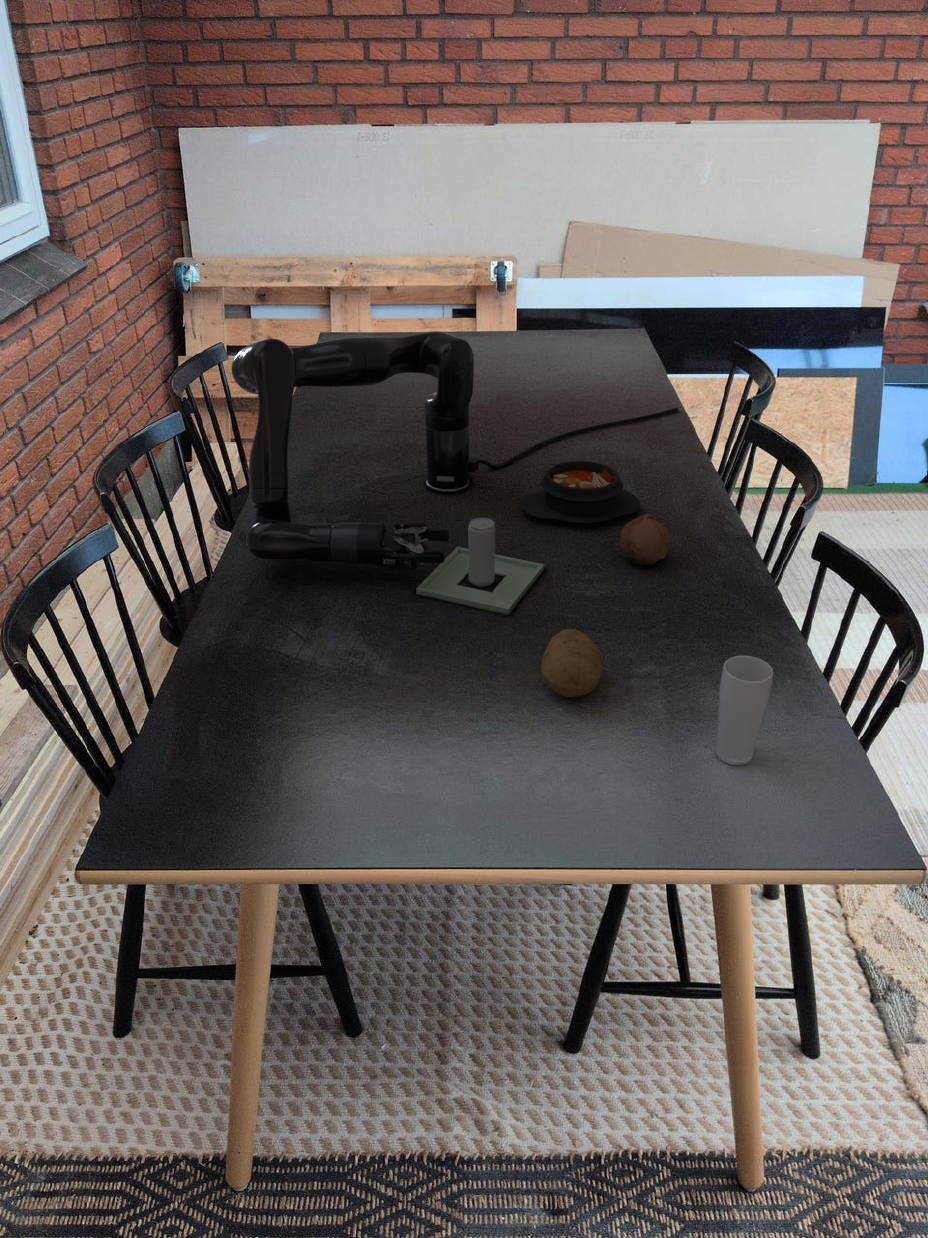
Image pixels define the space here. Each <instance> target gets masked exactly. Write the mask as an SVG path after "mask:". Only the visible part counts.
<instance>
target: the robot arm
mask: <svg viewBox="0 0 928 1238" xmlns="http://www.w3.org/2000/svg"><path fill="white" fill-rule="evenodd" d="M398 374H425V375H428V376H431V377H433V378H436V379H437V386H436V387H437V388H436V391H435V392H433V393H430V394H428V395H427V396H426V398H425V402H424V403H425V404H424V405H425V406H424V407H425V444H426V445H425V446H426V447H425V448H426V487H427V488H428V489H429V490H431V491H433V492H436V493H441V494H454V493H459V492H462V491H465V490H467V489H468V488H469V486H470V473H472V474H475V473H476V472H477V471H478V470H480V464H482V465H485V466H487V467H488V468H490V469H494V470H496V469H502V468H504V467H505V468H506V467H507V466H508V465H510V464H511V463H513V462H515V461H517V460H518V459H521V458H522V457H524V456H526V455H528V454H529V453H531V452H532V451H535V450H536V449H539V448H541V447H543V446H545V445H547V444H550V443H552V442H553V443H554V442H555V441H558V440H560V439H564V438H567V437H570V436H574V435H578V434H581V433H585V432H589V431H594V430H598V429H604V428H608V427H613V426H618V425H619V426H620V425H623V424H629V423H634V422H640V421H645V420H649V419H654V418H657V417H662V416H666V415H669V414H672V413H677V412H679V408H678V407H675V408H671V409H667V410H664V411H660V412H656V413H652V414H647V415H642V416H637V417H632V418H627V419H622V420H615V421H611V422H606V423H601V424H596V425H591V426H587V427H583V428H579V429H578V428H577V429H573V430H571V431H568V432H564V433H561V434H557V435H556V436H552V437H550V438H547V439H545V440H542V441H540V442H538V443H535V444H534V445H532V446H530V447H528V448H527V449H525V450H523V451H521V452H520V453H517V454H516V455H514V456H512V457H511V458H509V459H507V460H506V461H504V462H502V463H500V464H499V463H498V464H493V463H491V462H489V461H488V460H486V459H480V458H477V457H470V403H471V400H472V398H473V393H474V376H475V355H474V350H473V348H472V345H471V344H470V342H469V341H467V340H466V339H464V338H461V337H459V336H457V335H453V334H451V333H447V332H444V331H427V332H424V333H417V334H413V335H407V336H398V337H396V336H395V337H394V336H357V337H356V336H355V337H344V338H343V337H342V338H336V339H331V340H330V339H329V340H326V341H322V342H316V343H313V344H309V345H305V346H299V347H297V346H296V347H290V346H289V345H288V344H287V343H286V342H284V341H282V340H281V339H278V338H266V339H262V340H259V341H256V342H255V343H250V344H249V345H246V346H244V347H243V348H241V349H240V350H239V351H238V352H237V353H236V355H235V356H234V357H233V360H232V363H231V375H232V377H233V380H234V382H235V383H236V384H237V386H239V388H241V389H243V390H244V391H246V392H247V393H249V394H252V395H257V397H258V416H257V422H256V423H257V424H256V428H255V432H254V437H253V441H252V444H251V448H250V452H249V460H248V489H249V490H248V491H249V492H248V493H249V500H250V504H251V505H252V506H253V509H254V517H255V518H254V519H255V524H253V525H252V526H251V527H250V528H249V530H248V531H247V533H246V537H245V543H246V547H247V549H248V551H249V552H250V553H251V554H252V555H253V556H254V557H256V558H258V559H261V560H268V561H269V560H270V561H271V560H272V561H273V560H274V561H275V560H305V561H306V560H307V561H314V562H334V563H340V564H341V563H342V564H352V565H353V564H355V565H360V564H361V565H383V564H382V563H383V562H384V560H385V565H384V567H385V568H386V569H399V570H401V569H403V570H413V571H414V570H415V571H416V570H418V569H419V566H421V565H422V566H423V564H424V563H426V564H441V563H443V562H444V560H445V559H446V557H445V551H444V550H441V549H436V550H435V549H424V551H422V550H420V549H418V548H415V546H418V544H419V543H420V544H421V543H423V542H427V541H428V542H448V541H450V530H449V529H447V528H429V526H427V523H426V522H425V521H395V522H393V529H391V530H387V529H386V525H385V524H384V523H381V522H352V521H346V522H308V523H298V522H292V518H291V512H290V507H289V474H288V471H289V469H288V451H289V433H290V424H291V415H292V405H293V398H294V391H295V388H303V387H318V388H342V387H345V388H346V387H349V388H350V387H362V386H364V387H365V386H372V385H373V386H374V385H378V384H380V383H383V382H384V381H387V380H389V379H390V378H392V377H393V376H395V375H398ZM405 562H407V563H409V564H406V563H405Z"/></svg>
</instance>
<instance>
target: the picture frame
mask: <svg viewBox="0 0 928 1238" xmlns="http://www.w3.org/2000/svg"><path fill="white" fill-rule="evenodd" d="M544 571H545V564H544V563H540V562H534V561H529V560H524V559H520V558H514V557H510V556H505V555H500V554H496V553H495V576H500V577H503V578H502V580H501V581H500V582H499V583H498V584H497V585H496V587H495V588H494V589H493V590H492V591H487V590H482V589H479V588H475V587H474V588H473V587H468V586H464V585H460V583H462V581H463V580H464V579H465V578H466V577H467V576H468V575H469V556H468V548H467V547H462V546H457V547H455V548H454V549H453V551H451V552H450V554H448V555H447V556H446V557H445V559H444V562H443V563H439V565H438V566H437V567H436V568H434V569H433V571H432V572H431V573H430V574H429V575H428V576H426V578H425V579H424V580H423V581H422V582H421V583H420V584H418V586H417V587H416V589H415V593H416V595H419V596H423V597H428V598H432V599H437V600H440V601H441V600H442V601H445V602H449V603H454V604H458V605H463V606H468V607H472V608H477V609H481V610H485V611H490V612H494V613H499V614H503V615H507V616H509V615H510V614H511V612H512V611H513V610H514V609H515V607H516V606H517V605H518V603H519V602H520V601H521V599H523V597H524V596H525V594H526V593H527V592H528V591H529V590H530V589H531V587H532V586H533V585H534V584H535V582H536V581H537V579H538V578H539V577H540V576H541V575H542V573H543V572H544Z"/></svg>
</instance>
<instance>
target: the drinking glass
mask: <svg viewBox="0 0 928 1238" xmlns="http://www.w3.org/2000/svg"><path fill="white" fill-rule="evenodd" d="M773 681H774V669H773V667H772V666H771V665H770V664H769V663H768V662H766V661H765V660H763V659H761V658H759V657H756V656H753V655H752V656H751V655H735V656H732V657H730V658H727V659H726V660H725V662H724V663H723V666H722V671H721V675H720V681H719V687H718V688H719V689H718V704H717V705H718V706H717V723H716V724H717V725H716V739H715V740H716V741H715V746H716V748H717V750H718V751H719V752H720V753H721V754H722V755H724V756H726V757H728V758H733V759H735V760H736V759H737V760H742V759H747V758H749V757H751V756H752V755H753V753H754V754H755V749H756V745H757V742H758V738H759V734H760V731H761V727H762V724H763V721H764V718H765V715H766V711H767V709H768V705H769V702H770V696H771V692H772V687H773ZM714 753H715V755H716V757H717V758H718V759H719V760H720V761H721V762H723V763H724V764H727V765H730V766H745V765H746V764H748V763H750V762H751V761H752V760H753V758H754V755H753V757H752V758H751V759H749V760H747V761H744V762H733V761H729V760H726V759H724V758H722V757H721V756H720V755H719V754H718V753H717V752H716V749H715V748H714Z"/></svg>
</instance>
